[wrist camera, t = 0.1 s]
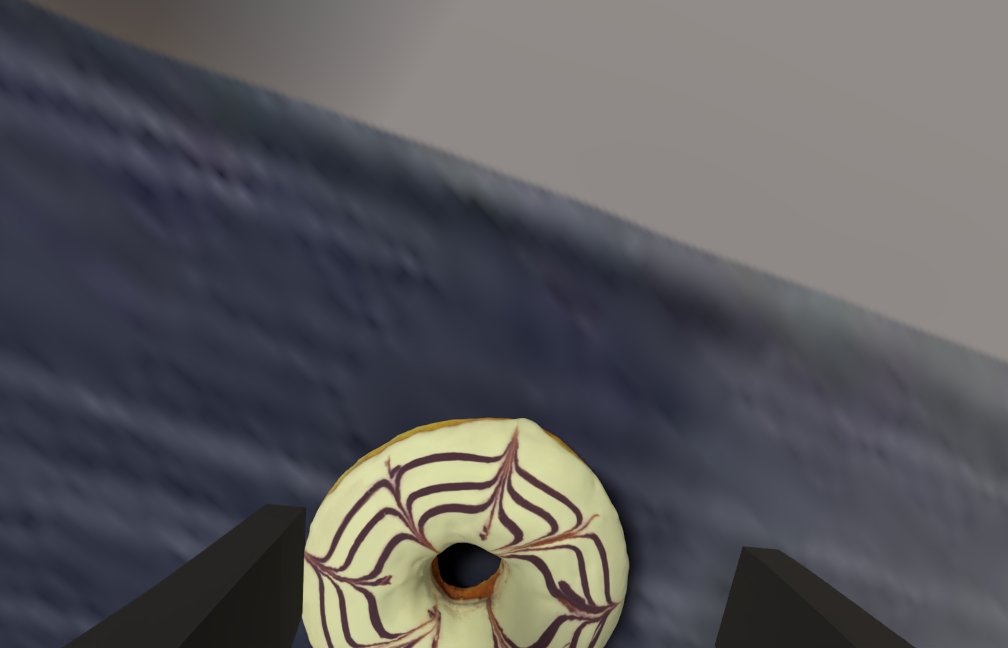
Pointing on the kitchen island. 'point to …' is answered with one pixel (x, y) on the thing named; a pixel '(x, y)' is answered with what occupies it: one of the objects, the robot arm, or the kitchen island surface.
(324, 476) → the kitchen island surface
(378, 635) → the decorated donut
